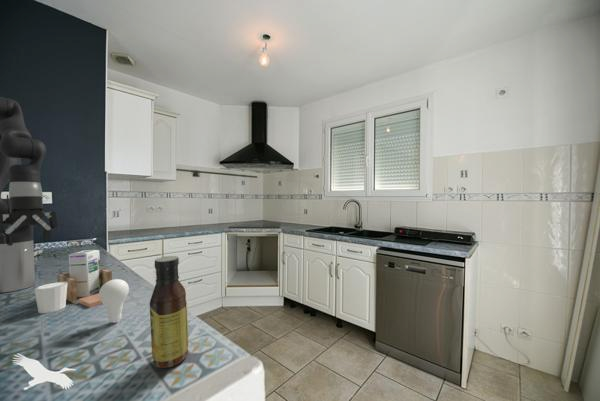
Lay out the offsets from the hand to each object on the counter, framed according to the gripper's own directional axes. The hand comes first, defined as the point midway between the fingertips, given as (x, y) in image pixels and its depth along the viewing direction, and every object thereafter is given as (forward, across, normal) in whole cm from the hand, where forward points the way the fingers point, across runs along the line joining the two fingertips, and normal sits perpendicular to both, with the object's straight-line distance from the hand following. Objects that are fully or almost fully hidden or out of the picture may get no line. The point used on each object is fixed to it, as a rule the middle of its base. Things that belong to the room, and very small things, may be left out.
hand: (28, 243), depth 83 cm
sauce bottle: (+21, +2, +76) cm, 79 cm away
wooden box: (+18, -8, +17) cm, 26 cm away
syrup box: (+19, -8, +17) cm, 27 cm away
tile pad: (+19, -8, +28) cm, 35 cm away
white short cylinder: (+19, +2, +22) cm, 29 cm away
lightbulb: (+20, -2, +49) cm, 53 cm away
